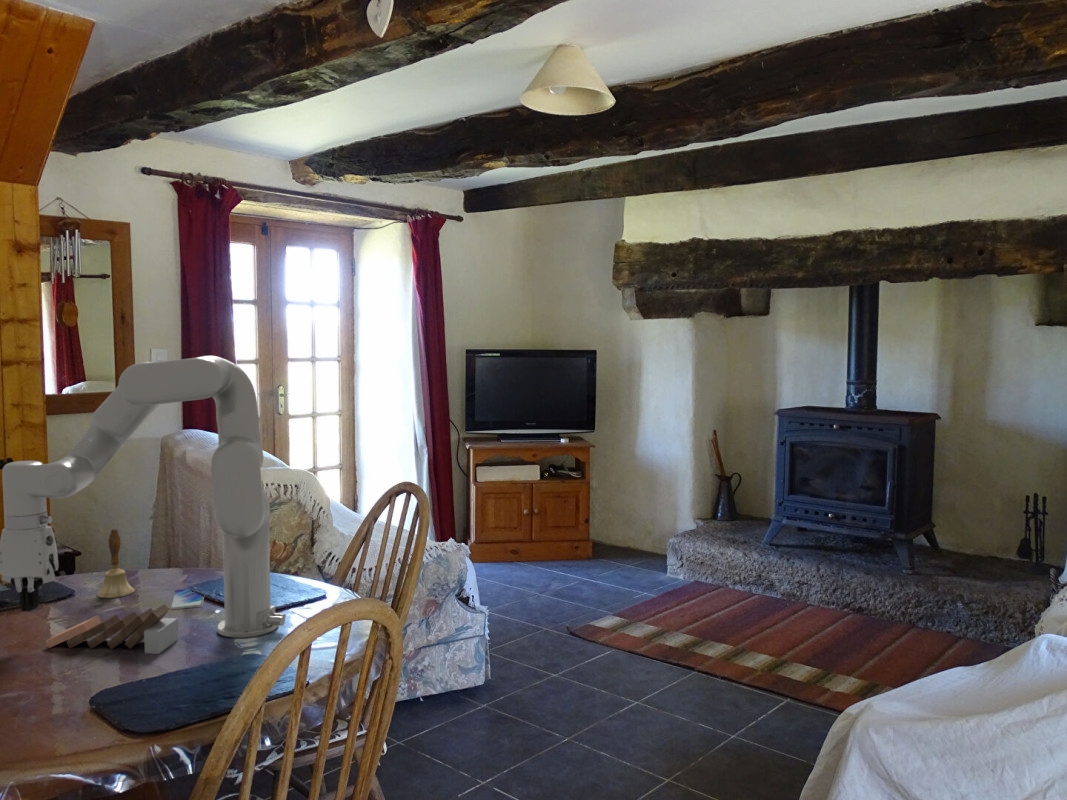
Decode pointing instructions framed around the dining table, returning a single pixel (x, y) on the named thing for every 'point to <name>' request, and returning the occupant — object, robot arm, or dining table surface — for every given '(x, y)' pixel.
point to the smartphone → (186, 599)
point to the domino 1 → (73, 631)
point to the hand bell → (115, 573)
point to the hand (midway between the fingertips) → (29, 609)
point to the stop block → (161, 635)
